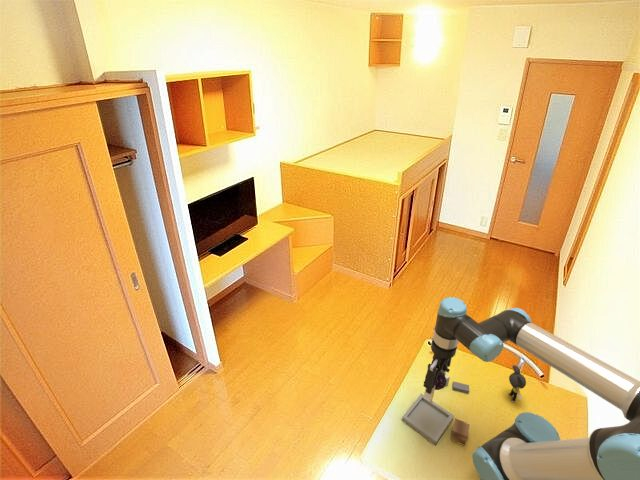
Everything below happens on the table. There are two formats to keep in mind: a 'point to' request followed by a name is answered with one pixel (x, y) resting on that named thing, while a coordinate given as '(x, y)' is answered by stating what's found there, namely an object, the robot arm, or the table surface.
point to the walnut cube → (460, 431)
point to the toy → (516, 383)
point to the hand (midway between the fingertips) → (433, 390)
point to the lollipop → (440, 382)
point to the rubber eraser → (460, 387)
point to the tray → (428, 418)
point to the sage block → (447, 379)
